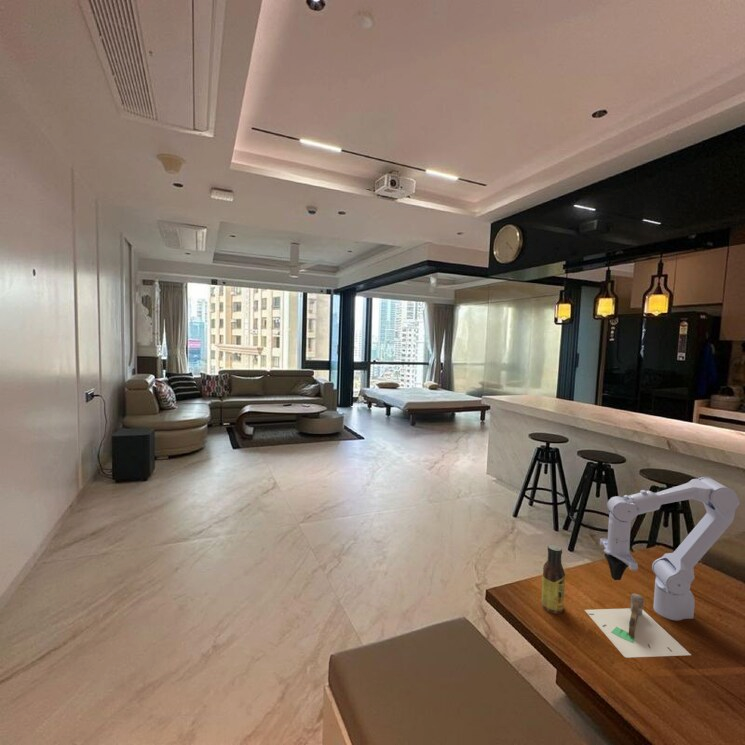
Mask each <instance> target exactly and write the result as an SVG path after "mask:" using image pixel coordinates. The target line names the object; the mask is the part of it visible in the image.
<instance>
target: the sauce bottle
mask: <svg viewBox="0 0 745 745" xmlns="http://www.w3.org/2000/svg"><path fill="white" fill-rule="evenodd" d="M562 554H563V547H561V546H559V545H557V544H548V545H547V560H546V562H545V563H544V564H543V567H542V570H543V571H542V579H541V584H542V585H541V606H542V608H543V609H544V611H547V612H549V613H551V614H561V613H562V612H563V611H564V605H565V583H566V581H565V580H566V573H565V571H564V567H563V564H562Z"/></svg>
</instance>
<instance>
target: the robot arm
mask: <svg viewBox="0 0 745 745" xmlns="http://www.w3.org/2000/svg"><path fill="white" fill-rule="evenodd" d="M688 500H695V501H697V502H700V503H703V506H704V509H705V511H706V513H705V514H704V516H702V518H701V519H700V520H699V522H698V523H697V524H696V525H695V526H694V527H693V529H692V530H691V531H690V532H689V533H688V535H687V536H686V537H685V538H684V540H683V541H682V542H681V543H680V544H679V545H678V547H677V548H675V550H674V551H673V552H666V553H664V554H663V556H661V557H659V558H657V559H655V560H654V561H653V562H652V564H651V565H652V566H651V570H652V571H653V573H654V574H655V580H654V594H653V605H652V606H653V610H654V612H655V613H656V614H658V615H659V616H661V617H663V618H665V619H668V620H671V621H682V620H687V619H691V620H692V619H694V616H695V615H694V614H695V605H696V604H695V602H696V601H695V596H694V594H693V592H692V591H691V590H690V589H691V586H692V582H693V581H694V580H695V571H694V570H695V569H694V567H695V566H697V564H698V563H699V562H700V560H701V559H702V558H703V557H704V556H705V555H706V553H707V552H708V551H709V550H711V547H713V545H715V543H716V542H717V541H718V539H720V537H721V536H722V535H723V533H725V531H726V530H727V529H728V528H729V526H731V524H732V523H733V522H734V520H735V514H736V510H737V508H738V506H740V504H741V502H740V500H739V497H738V494H737V493H736V491H735V490H733V489H732V488H730V487H727V486H725V485H724V484H722V483H720V482H718V481H716V479H714V478H712V477H710V476H701V477H699V478H693V479H691V480H689V481H688V482H686V483H682V484H680V485H677V486H673V487H670V488H667V489H663V490H660V491H657V492H653V491H651V490H645V489H641V490H640V491H639V492H637V493H634V494H630V495H628V494H625V495H623V497H622V496H619V495H617V496H616V495H615V496H612V497H610V499H608V500H607V502H606V504H605V506H606V508H607V510H608V511H609V512H608V513H609V515H608V526H607V527H608V528H607V538H599V545H600V546H603V547H604V549H603V552H604V558H605V559H606V562H607V563H608V567H609V571H610V577H611V578H612V579H613V581H621V579H622V577H623V575H624V573H625V571H626V569H627V568H628V569H629V570H631V571H638V570H639V564H638V563H637V561H636V560H635V559H634V557H633V556H632V555H631V553H630V544H631V542H630V541H631V528H632V527H631V526H632V525H631V523H632V521H633V520H634V519H635V517H637V516H638V515H643V514H646V513H647V514H648V513H650V512H655V511H658V510H660V508H661V507H662V505H666V504H672V503H675V502H676V503H678V502H682V501H683V502H684V501H688Z"/></svg>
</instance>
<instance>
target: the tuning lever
mask: <svg viewBox="0 0 745 745" xmlns="http://www.w3.org/2000/svg"><path fill="white" fill-rule="evenodd" d="M630 596H631V597H630V610H631V611H632V613H631V617H630V622H629V636H631V637H634V634H635V629H636V623H637V618H638V615H641V614H642V611H643V610H644V609H643V607H644V598H643V596H642V595H640V594H638V593H631V594H630Z"/></svg>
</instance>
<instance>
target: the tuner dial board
mask: <svg viewBox="0 0 745 745" xmlns="http://www.w3.org/2000/svg"><path fill="white" fill-rule="evenodd" d="M630 608H631V607H630ZM630 608H629V607H628V608H603V609H602V608H600V609H599V608H597V609H584V612H585V613H586V614H587V615H588V616H589V617H590V619H592V621H593V623H594V624H595V625H597V627H598V628H599V629H600V630H601V632H603V633H604V635H605V636H606V637H607V639H609V641H610V642H611V643H612V644H613V645H614V646H615V648H616V649H617V650H618V651H619V652H620V654H621V655H622V656H623V657H624V658H625V659H626V658H628V659H629V658H630V659H631V658H653V657H654V658H655V657H657V658H658V657H679V656H680V657H681V656H692V654H691V653H689V651H687V649H686V648H685V647H684V646H683V645H681V643H679V641H677V640H676V639H675V638H674V637H673V636H671V634H669V632H667V631H666V630H665V629H664V628H663V627H662V626H661V625H659V623H658V622H656V621H655V619H654V618H652V617H651V616H650V615H649V614H648V613H647V612H646V611H645V610H644V609H643V611H642V614H641V615H638V618H637V623H636V629H635V634H634V637H631V636H629V622H630V617H631V613H632V611H631V610H630Z"/></svg>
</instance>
